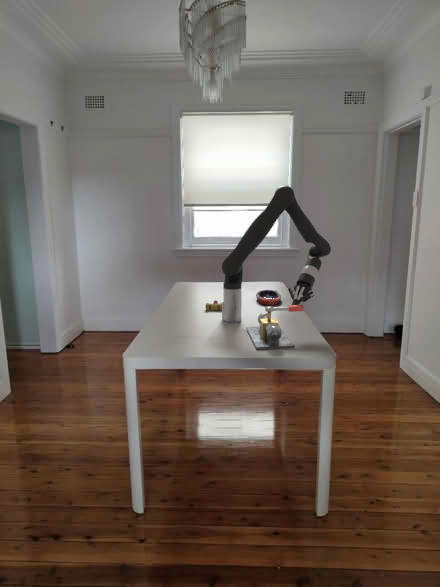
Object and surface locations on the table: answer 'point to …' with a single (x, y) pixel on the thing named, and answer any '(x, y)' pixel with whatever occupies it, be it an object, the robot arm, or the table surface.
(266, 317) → the valve body
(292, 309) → the valve lever
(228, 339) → the table surface
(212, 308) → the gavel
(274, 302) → the dish
